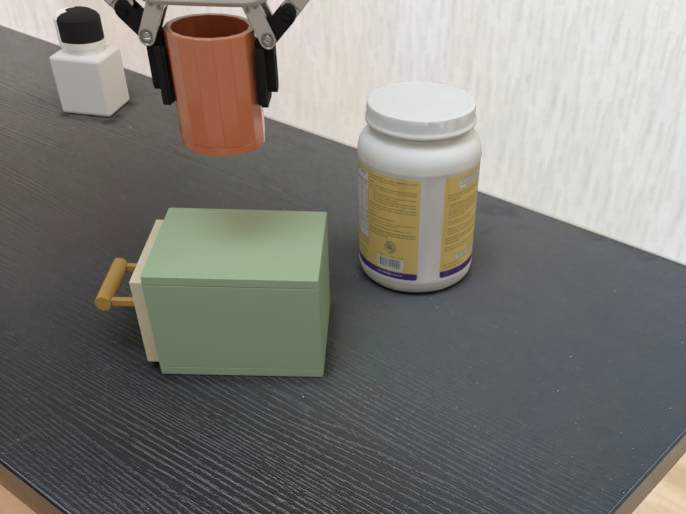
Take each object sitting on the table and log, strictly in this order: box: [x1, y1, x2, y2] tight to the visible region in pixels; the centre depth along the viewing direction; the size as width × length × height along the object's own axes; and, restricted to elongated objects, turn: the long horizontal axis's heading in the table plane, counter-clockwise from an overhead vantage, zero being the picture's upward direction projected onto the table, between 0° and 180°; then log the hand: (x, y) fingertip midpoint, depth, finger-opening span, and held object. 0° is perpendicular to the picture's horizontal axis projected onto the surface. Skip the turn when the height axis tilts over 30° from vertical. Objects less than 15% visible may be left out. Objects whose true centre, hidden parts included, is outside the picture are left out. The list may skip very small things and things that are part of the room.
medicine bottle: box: [49, 5, 130, 118], centre depth 112 cm, size 7×7×12 cm
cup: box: [163, 12, 266, 157], centre depth 62 cm, size 7×7×8 cm
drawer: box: [94, 219, 164, 363], centre depth 74 cm, size 18×11×8 cm, turn 91°
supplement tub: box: [356, 81, 483, 293], centre depth 81 cm, size 12×12×17 cm
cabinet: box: [140, 207, 331, 378], centre depth 74 cm, size 15×13×10 cm
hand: (218, 98), depth 63 cm, fingers closed on cup, 6 cm apart
